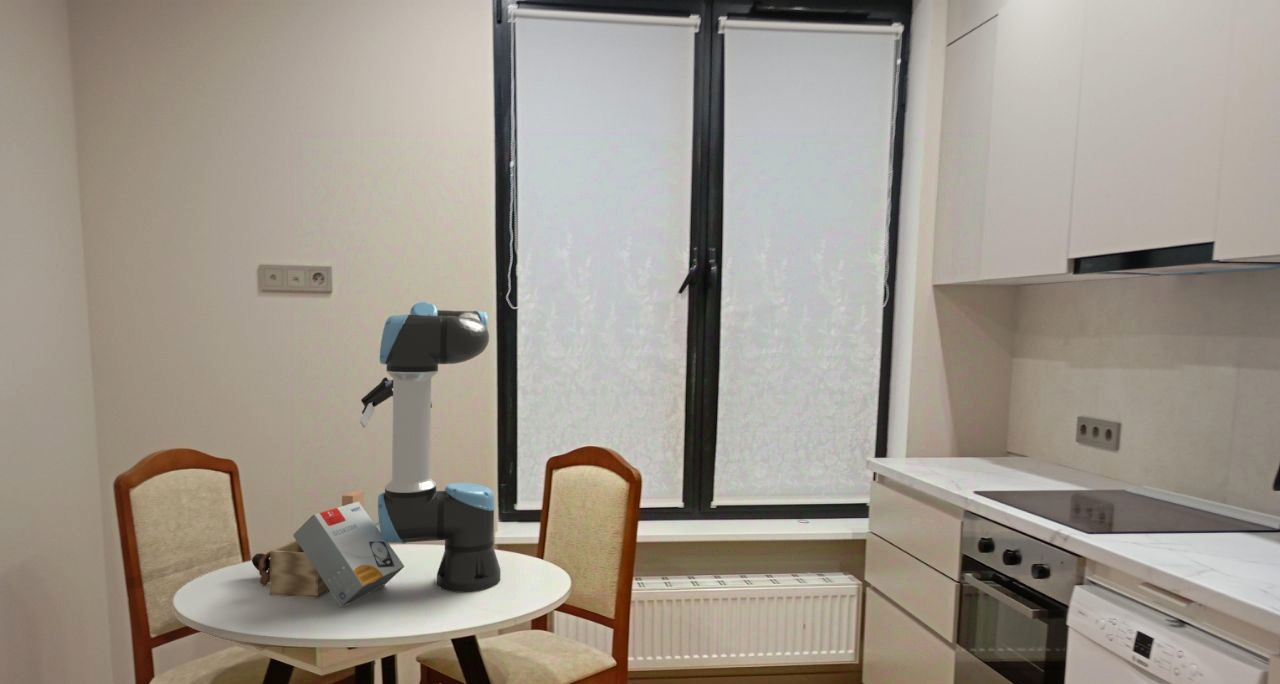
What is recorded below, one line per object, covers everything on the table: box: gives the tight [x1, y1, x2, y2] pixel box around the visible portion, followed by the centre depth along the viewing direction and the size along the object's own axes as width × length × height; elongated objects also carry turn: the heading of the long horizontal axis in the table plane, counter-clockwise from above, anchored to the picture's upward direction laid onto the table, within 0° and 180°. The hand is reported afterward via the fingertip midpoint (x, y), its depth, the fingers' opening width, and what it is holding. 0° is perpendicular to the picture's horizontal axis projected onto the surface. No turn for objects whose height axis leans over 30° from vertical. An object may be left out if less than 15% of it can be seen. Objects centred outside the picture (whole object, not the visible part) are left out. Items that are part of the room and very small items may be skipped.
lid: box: [341, 490, 379, 527], centre depth 168 cm, size 13×14×8 cm
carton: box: [268, 539, 331, 599], centre depth 157 cm, size 12×14×10 cm
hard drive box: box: [293, 502, 405, 608], centre depth 152 cm, size 16×8×20 cm
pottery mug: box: [251, 551, 270, 587], centre depth 161 cm, size 12×9×8 cm
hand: (385, 425), depth 180 cm, fingers open, 13 cm apart
